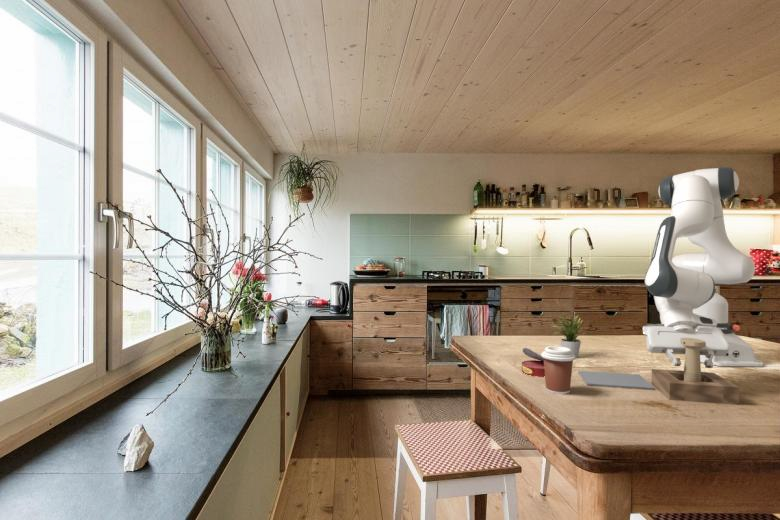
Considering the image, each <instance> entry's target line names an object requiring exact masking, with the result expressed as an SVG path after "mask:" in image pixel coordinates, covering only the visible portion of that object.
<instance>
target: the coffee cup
mask: <svg viewBox="0 0 780 520" xmlns="http://www.w3.org/2000/svg"><path fill="white" fill-rule="evenodd" d="M540 355H541V356H542V358H544V370H545V377H544V378H545V379H544V380H545V390H546V391H547V392H548V391H549V392H548V393H550V392H553V393H552V394H554V393H559V394H558V395H568V394H570V393H571V383H572V376H573V375H572V374H573V363H574V361H575V360H576V358H575V355H574V354H573V353H572V350H571V349H569V348H566V347H562V346H557V345H550V346H546V347H545V348H544V350H543V351H542V352H541V354H540ZM569 392H570V393H569ZM567 393H568V394H567Z"/></svg>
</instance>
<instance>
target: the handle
mask: <svg viewBox="0 0 780 520" xmlns="http://www.w3.org/2000/svg"><path fill="white" fill-rule="evenodd" d="M680 342H681V344H682V345H684V346H685V347H686V352H685V354H684V363H683V364H684V367H683V371H684V381H695V382H701V372H702V367H701V362H700V349H701V348H703V347H705V346H706V342H705V341H703V340H699V339H694V338H680Z"/></svg>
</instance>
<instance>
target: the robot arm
mask: <svg viewBox="0 0 780 520" xmlns="http://www.w3.org/2000/svg"><path fill="white" fill-rule="evenodd" d="M739 185H740V179H739V175H738V174H737V172H736V171H735V168H732V167H730V166H718V167H715V168H702V169H695V170H692V171H686V172H682V173H678V174H672V175H668V176H666V177H663V178H662V180H661V181H660V182H659V186H658V191H657V193H658V197H659V199H660V200H661V202H662V203H663V204H665V205H666V206H670V208H671V210H670V211H671V212H670V215H669V216H667V217H666V218H664V219H663V220H662V221H661V223H660V225H659V228H658V231H657V234H656V238H655V242H654V244H653V245H654V247H653V250H652V254H651V259H650V264H649V266H648V269H647V270H646V273H645V276H644V285H645V288H646V289H647V290H648V292H649V294H650V295H652V296H653V300H654V304H655V306H656V307H655V308H656V309H657V312H659V320H660V323H656V324H655V323H654V324H653V323H646V324H645V325H643V326H642V333H643V335H644V336H645V344H646V349H647V351H648V352H650V353H652V354H665V356H666V358H667V359H669V360H670V361H671V363H672V366H673V367H681V365H682V362H681V358H680V357H676V356H675V355H685V352H686V347H685V346H684V345H682V344H681V342H680V338H694V339H699V340H703V341H705V342H706V346H705V347H703V348H701V349H700V363H703V365H704V367H705V369H706V368H707V369H713V368H714V366H718V367H758V368H759V367H764V363H763V361H761V360H759V359H757V358H756V355H755V350H754V348H753V346H752V345H751V344H750V343H748V342H747V341H745V340H744V339H743V338H741V337H740V336H738V335H737V334H735V333H734V331H736V332H738V331H740V330H741V328H740V325H737V324H732V323H730V322H729V303H728V301H727V299H726V298H725V297H724V296H722V295H721V294H718V293H717V292H716V284H719V285H720V284H722V285H736V284H745V283H748V282H749V281H751V280H752V279H753V277H754V275H755V272H756V266H755V262H754V260H753V259H752V258H751V257H750V256H749V255H747V254H745V253H743V252H741V251H740V250H738V249H737V248H736V247H735V246H734V244H733V243H732V242H731V240H730V239H729V237H728V235H727V231H726V226H725V225H726V224H725V219H724V210H723V209H724V208H723V205H722V201H726V200H727V199H729V198H732V197H733V196H734V195H736V194H737V190H738V189H739ZM721 200H722V201H721ZM679 238H688V240H689V241H690V242H691V244H694V245H696V246H699V247H700V248H702V249H703V250H704V251H705V252H704V253H703V252H688V253H681V254H676V255H674V252H675V246H676V242H677V239H679Z"/></svg>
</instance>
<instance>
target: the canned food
mask: <svg viewBox="0 0 780 520" xmlns="http://www.w3.org/2000/svg"><path fill="white" fill-rule="evenodd" d="M522 353H523V354H524V355H525V356H527V357H529V358H532V359H534V360H529V359H528V360H524V361H522V362H521V373H522V372H523V373H522V374H524V373H525V374H524V375H526V374H527V376H529V375H531V376H530V377H535V376H538V377H537V378H545V377H544V376H545V370H544V358H542V356H541V354H539V353H538V352H536V351H534V350H532V349H530V348H527V347H523V348H522Z"/></svg>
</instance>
